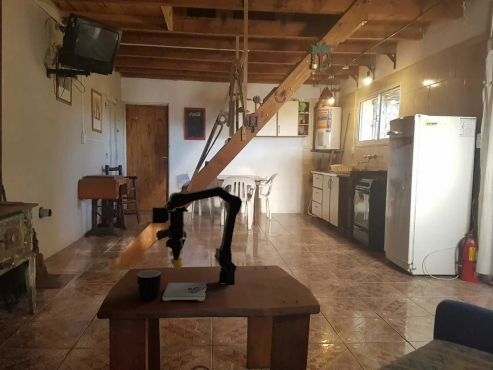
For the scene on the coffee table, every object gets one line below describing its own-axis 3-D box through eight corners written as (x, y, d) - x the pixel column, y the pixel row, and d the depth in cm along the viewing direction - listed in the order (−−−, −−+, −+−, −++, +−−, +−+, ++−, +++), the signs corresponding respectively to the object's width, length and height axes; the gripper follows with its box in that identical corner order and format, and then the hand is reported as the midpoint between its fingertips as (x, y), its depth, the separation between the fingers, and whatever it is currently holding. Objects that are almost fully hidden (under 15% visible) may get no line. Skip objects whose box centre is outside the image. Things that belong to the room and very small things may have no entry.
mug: (140, 294, 146) (139, 269, 145) (162, 294, 147) (162, 269, 146) (133, 306, 134) (132, 280, 133) (157, 306, 135) (157, 279, 134)
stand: (206, 287, 155) (206, 282, 154) (204, 302, 140) (204, 296, 139) (168, 288, 154) (168, 282, 153) (162, 302, 139) (162, 296, 138)
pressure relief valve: (179, 269, 150) (176, 245, 151) (156, 273, 154) (153, 249, 156) (186, 267, 155) (183, 244, 157) (163, 271, 159) (160, 248, 161)
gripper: (161, 218, 162) (162, 252, 164) (152, 226, 144) (153, 265, 145) (186, 218, 163) (186, 252, 164) (181, 226, 144) (181, 265, 145)
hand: (176, 258), depth 155 cm, fingers closed on pressure relief valve, 5 cm apart
